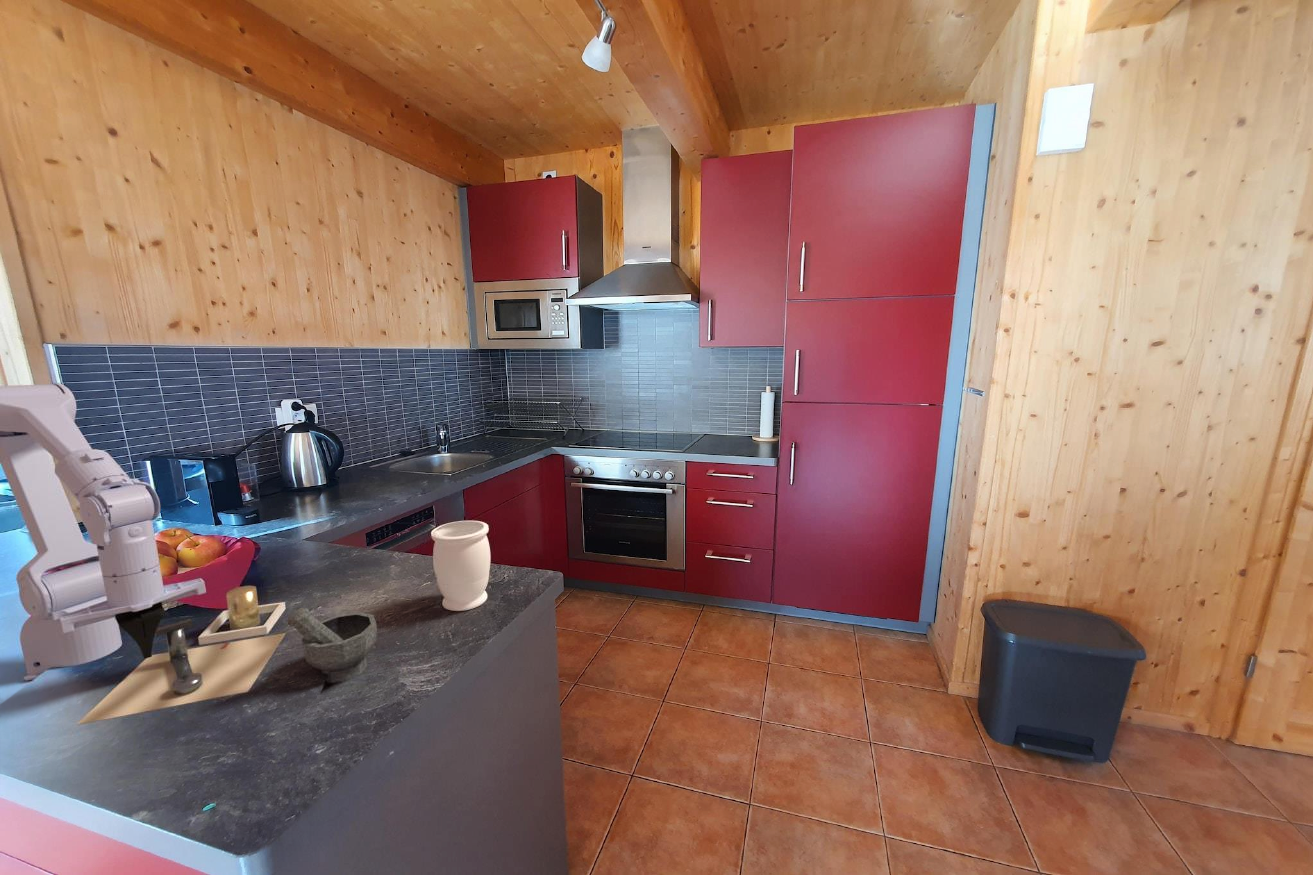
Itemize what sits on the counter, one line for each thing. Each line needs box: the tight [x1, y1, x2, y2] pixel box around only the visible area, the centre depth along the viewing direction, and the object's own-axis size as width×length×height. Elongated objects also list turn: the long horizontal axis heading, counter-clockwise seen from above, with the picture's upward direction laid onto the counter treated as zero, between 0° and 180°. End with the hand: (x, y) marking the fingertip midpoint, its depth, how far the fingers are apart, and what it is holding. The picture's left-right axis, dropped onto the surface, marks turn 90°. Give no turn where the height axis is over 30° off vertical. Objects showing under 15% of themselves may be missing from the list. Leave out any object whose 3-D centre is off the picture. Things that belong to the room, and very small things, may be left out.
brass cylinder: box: [225, 585, 261, 631], centre depth 87 cm, size 4×4×7 cm
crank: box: [155, 618, 203, 695], centre depth 73 cm, size 12×4×6 cm, turn 49°
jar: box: [430, 520, 491, 612], centre depth 97 cm, size 11×10×15 cm
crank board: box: [75, 632, 287, 726], centre depth 74 cm, size 18×16×1 cm
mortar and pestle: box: [286, 607, 378, 684], centre depth 75 cm, size 11×9×12 cm
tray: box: [197, 601, 286, 646], centre depth 87 cm, size 9×9×2 cm
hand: (147, 655), depth 74 cm, fingers closed
